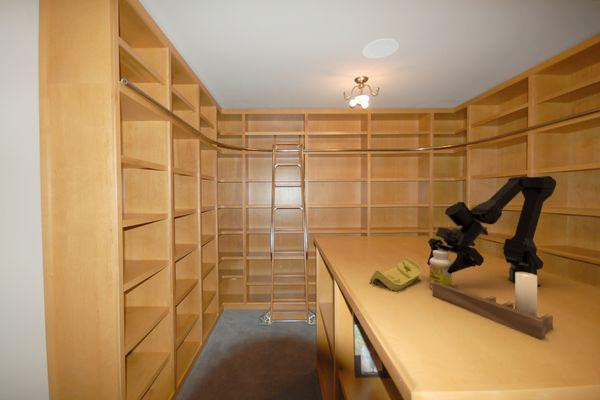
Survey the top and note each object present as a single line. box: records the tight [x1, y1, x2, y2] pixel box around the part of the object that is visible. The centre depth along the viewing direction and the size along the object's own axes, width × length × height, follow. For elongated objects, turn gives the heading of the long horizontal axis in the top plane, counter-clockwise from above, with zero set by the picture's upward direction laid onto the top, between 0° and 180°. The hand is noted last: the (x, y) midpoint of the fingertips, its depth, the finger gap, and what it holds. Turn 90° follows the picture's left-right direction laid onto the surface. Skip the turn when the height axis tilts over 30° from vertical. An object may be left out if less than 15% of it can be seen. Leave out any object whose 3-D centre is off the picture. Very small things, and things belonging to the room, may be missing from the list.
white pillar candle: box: [514, 272, 538, 317], centre depth 59 cm, size 4×4×12 cm
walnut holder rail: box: [431, 282, 554, 340], centre depth 65 cm, size 8×26×4 cm, turn 26°
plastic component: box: [369, 256, 423, 292], centre depth 88 cm, size 20×7×10 cm
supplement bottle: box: [428, 250, 453, 289], centre depth 80 cm, size 7×7×13 cm
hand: (437, 268), depth 80 cm, fingers open, 9 cm apart
